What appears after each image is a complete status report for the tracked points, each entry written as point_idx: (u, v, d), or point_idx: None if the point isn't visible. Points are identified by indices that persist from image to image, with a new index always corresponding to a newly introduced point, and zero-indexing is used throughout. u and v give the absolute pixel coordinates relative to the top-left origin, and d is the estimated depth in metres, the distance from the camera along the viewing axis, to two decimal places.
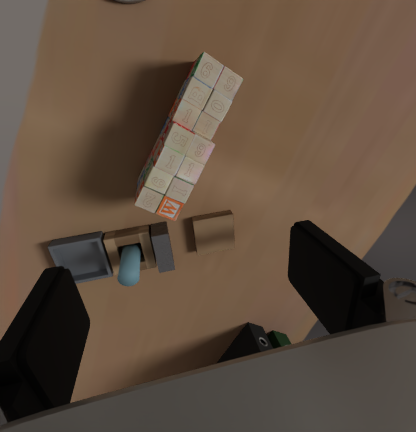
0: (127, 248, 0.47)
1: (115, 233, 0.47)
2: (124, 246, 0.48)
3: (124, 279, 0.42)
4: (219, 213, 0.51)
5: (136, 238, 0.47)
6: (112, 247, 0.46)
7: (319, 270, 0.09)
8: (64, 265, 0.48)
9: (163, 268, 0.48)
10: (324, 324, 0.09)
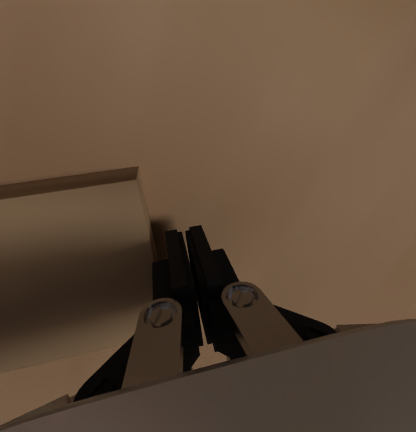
0: None
1: None
2: None
3: None
4: (76, 179, 0.10)
5: None
6: None
7: (194, 273, 0.10)
8: None
9: None
10: (203, 325, 0.10)
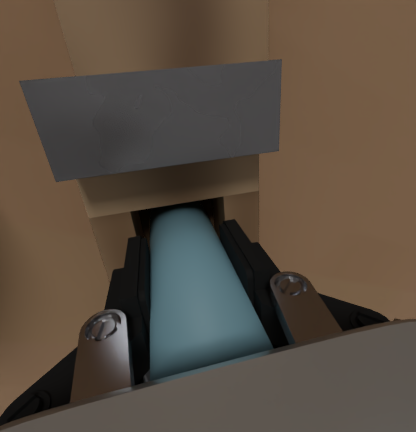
0: None
1: None
2: None
3: None
4: None
5: (109, 226, 0.12)
6: None
7: (233, 265, 0.10)
8: None
9: (260, 126, 0.09)
10: None
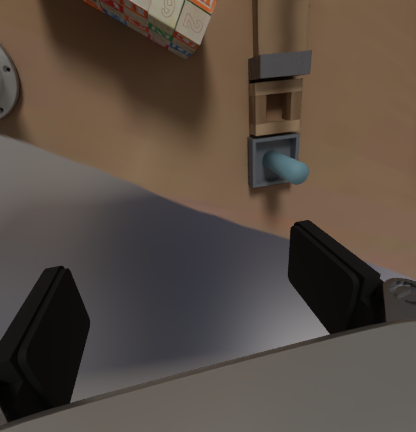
0: (270, 166, 0.45)
1: (252, 123, 0.44)
2: (268, 168, 0.46)
3: (299, 178, 0.39)
4: (254, 14, 0.38)
5: (259, 99, 0.41)
6: (265, 127, 0.43)
7: (319, 270, 0.09)
8: (275, 178, 0.49)
9: (306, 66, 0.38)
10: (324, 324, 0.09)
